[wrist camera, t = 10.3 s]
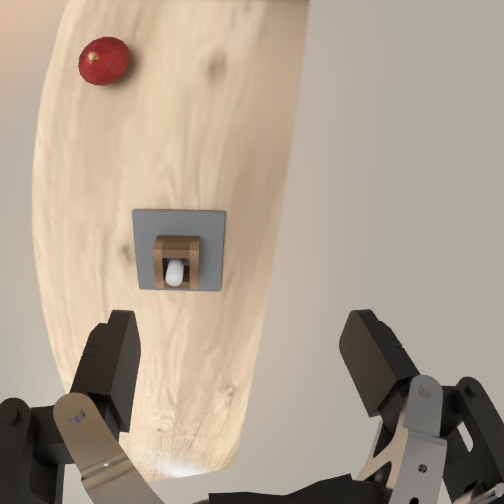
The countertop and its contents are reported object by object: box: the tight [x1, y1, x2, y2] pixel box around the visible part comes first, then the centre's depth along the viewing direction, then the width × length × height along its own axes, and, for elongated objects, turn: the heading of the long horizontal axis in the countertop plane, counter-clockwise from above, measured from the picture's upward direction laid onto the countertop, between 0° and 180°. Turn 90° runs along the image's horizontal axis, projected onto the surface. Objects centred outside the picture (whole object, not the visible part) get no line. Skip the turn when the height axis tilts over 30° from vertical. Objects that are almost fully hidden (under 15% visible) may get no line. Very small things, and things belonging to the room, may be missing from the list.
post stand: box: [132, 209, 225, 291], centre depth 36 cm, size 12×12×7 cm
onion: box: [78, 37, 130, 85], centre depth 23 cm, size 6×6×8 cm
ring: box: [152, 235, 200, 289], centre depth 37 cm, size 6×6×4 cm
